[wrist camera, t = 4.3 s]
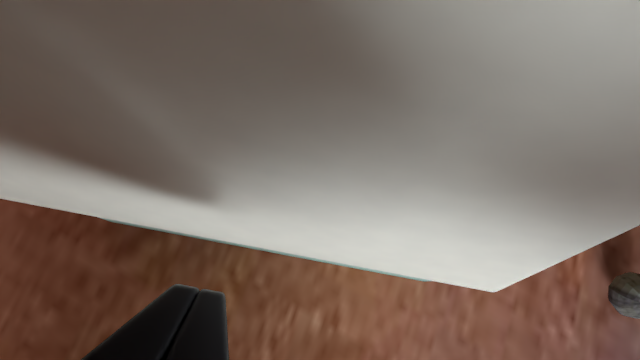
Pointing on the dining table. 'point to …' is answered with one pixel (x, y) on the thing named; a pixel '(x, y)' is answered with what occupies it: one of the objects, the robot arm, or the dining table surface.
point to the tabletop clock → (626, 294)
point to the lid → (334, 125)
